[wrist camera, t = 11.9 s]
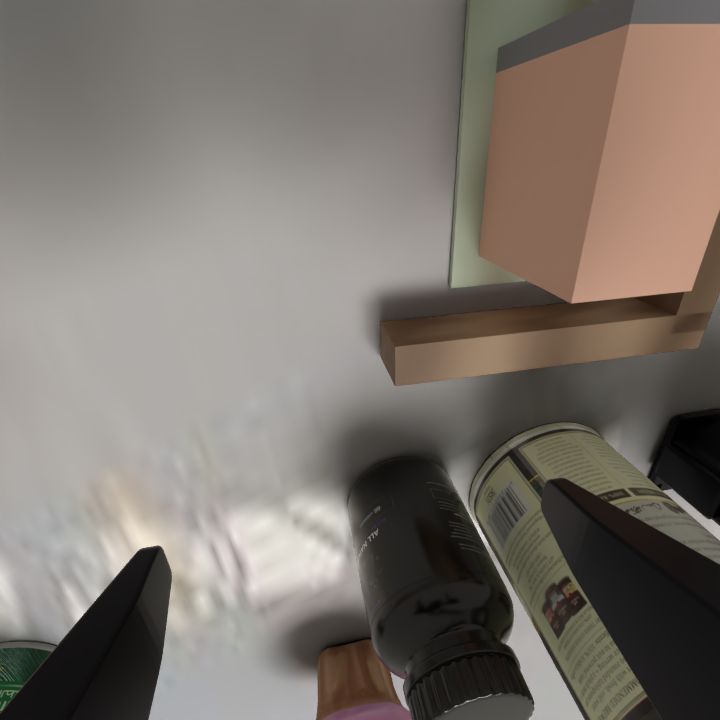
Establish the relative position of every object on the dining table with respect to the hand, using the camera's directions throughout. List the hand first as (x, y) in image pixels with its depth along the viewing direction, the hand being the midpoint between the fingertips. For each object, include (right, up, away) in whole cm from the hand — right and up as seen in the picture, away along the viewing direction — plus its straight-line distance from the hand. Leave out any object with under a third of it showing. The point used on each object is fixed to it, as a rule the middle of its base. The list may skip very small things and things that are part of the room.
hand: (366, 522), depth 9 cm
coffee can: (+12, -4, +19) cm, 23 cm away
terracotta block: (+8, +13, +8) cm, 17 cm away
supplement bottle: (+2, -5, +17) cm, 18 cm away
